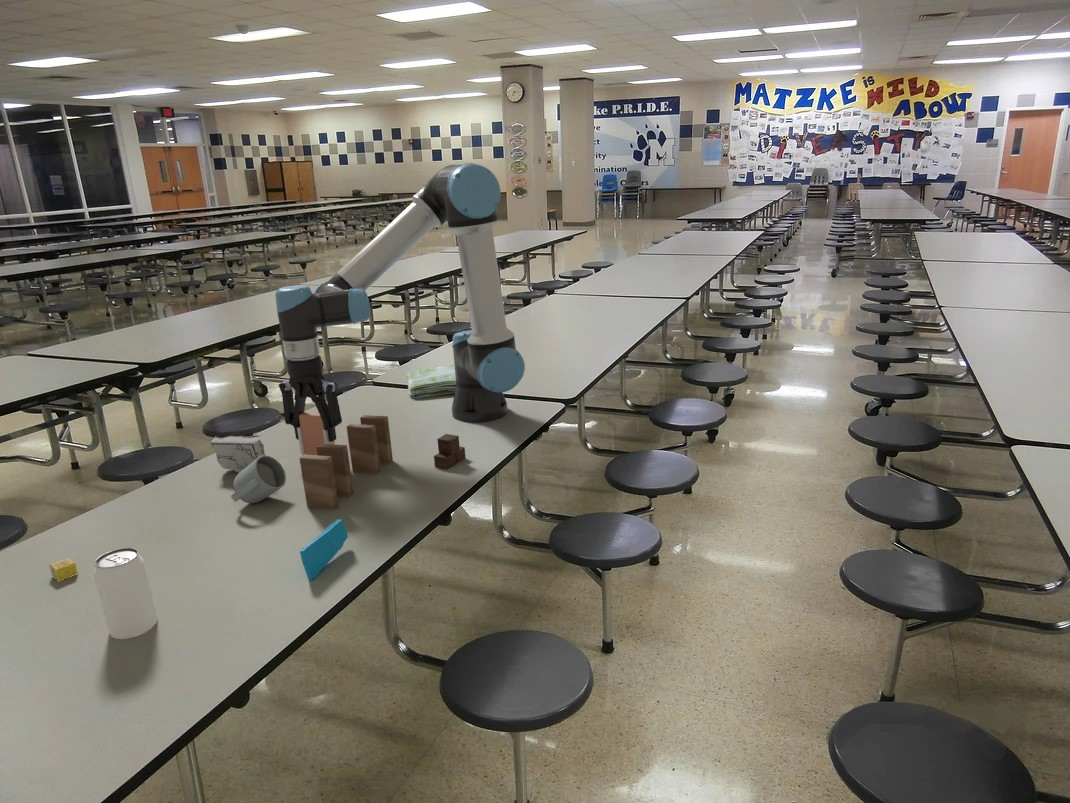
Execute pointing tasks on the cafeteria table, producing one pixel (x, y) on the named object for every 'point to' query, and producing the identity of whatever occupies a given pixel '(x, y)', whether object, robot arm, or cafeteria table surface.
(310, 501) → the domino
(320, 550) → the sponge
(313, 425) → the domino
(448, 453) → the stack of crates
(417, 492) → the cafeteria table surface
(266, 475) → the ceramic mug
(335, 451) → the domino
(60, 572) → the small yellow block
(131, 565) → the can
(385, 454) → the domino
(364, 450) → the domino
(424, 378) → the towel
